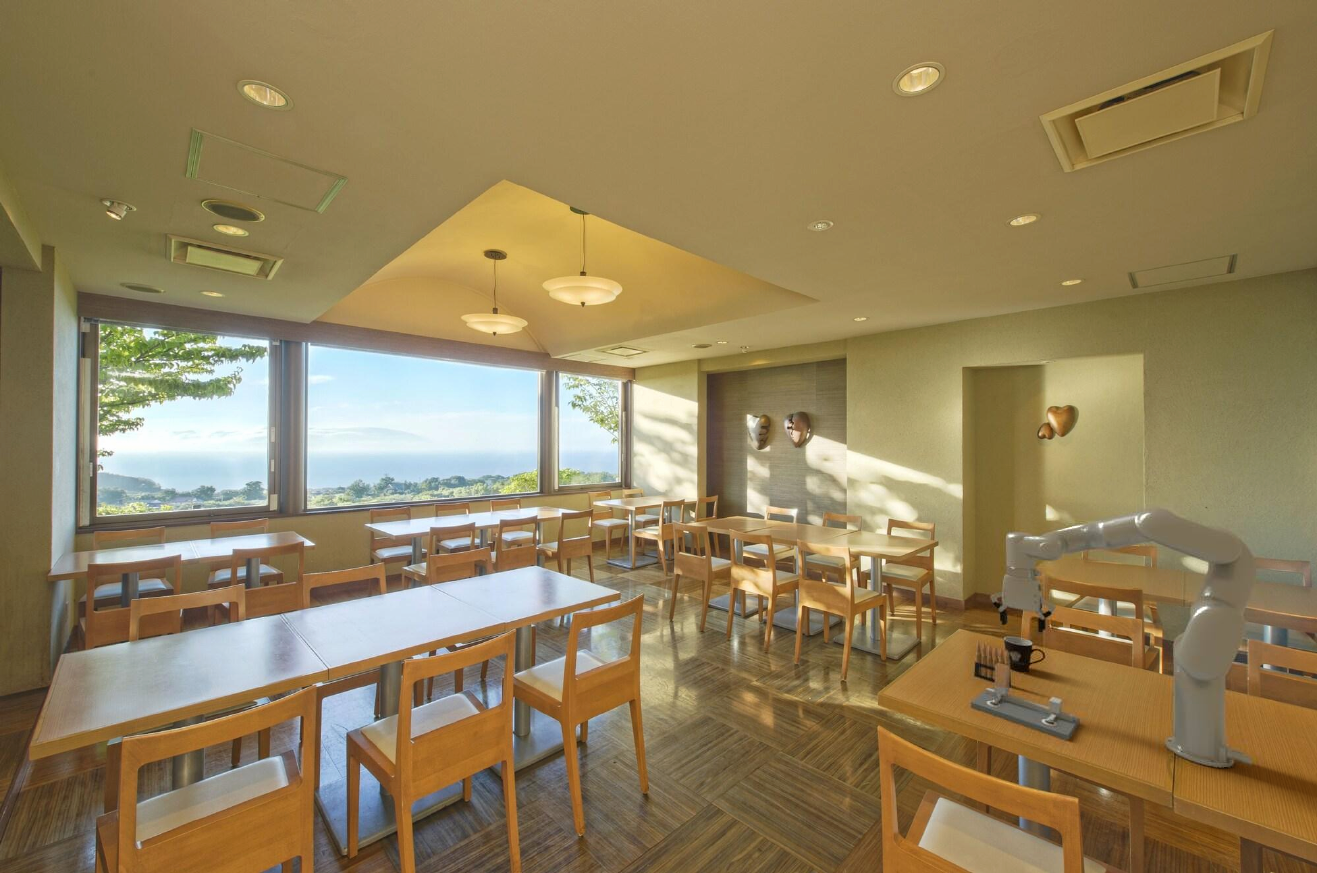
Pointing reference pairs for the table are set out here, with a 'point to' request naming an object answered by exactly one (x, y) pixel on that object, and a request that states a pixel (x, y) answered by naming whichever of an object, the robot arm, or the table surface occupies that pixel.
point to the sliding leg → (1001, 682)
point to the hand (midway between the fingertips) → (1022, 627)
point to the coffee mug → (1020, 653)
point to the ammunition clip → (989, 663)
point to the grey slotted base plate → (1029, 713)
